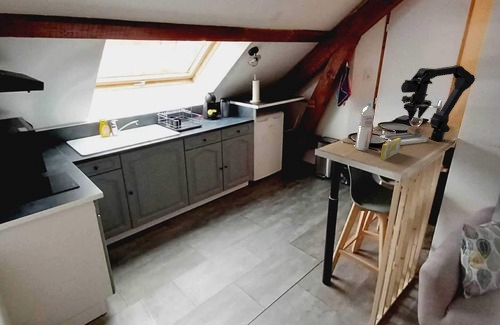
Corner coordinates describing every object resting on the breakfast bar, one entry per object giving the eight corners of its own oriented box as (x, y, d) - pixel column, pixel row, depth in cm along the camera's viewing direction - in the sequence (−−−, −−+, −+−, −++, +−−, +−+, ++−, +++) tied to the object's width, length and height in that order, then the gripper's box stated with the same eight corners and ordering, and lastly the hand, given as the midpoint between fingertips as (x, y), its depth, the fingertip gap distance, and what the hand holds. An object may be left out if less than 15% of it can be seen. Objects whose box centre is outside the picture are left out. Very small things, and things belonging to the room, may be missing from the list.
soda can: (371, 145, 165) (375, 124, 160) (358, 144, 166) (362, 124, 161) (369, 141, 171) (373, 121, 166) (356, 140, 172) (360, 120, 168)
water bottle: (367, 147, 161) (376, 102, 151) (368, 152, 155) (377, 105, 145) (354, 146, 163) (362, 101, 153) (354, 150, 157) (362, 104, 147)
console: (410, 135, 182) (411, 130, 180) (426, 141, 172) (428, 136, 170) (378, 139, 175) (380, 133, 174) (393, 145, 165) (394, 139, 163)
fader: (411, 134, 177) (414, 125, 175) (418, 136, 173) (420, 128, 171) (406, 134, 176) (408, 126, 174) (413, 137, 172) (415, 128, 169)
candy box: (394, 152, 156) (398, 137, 153) (398, 153, 155) (402, 138, 151) (379, 159, 147) (382, 143, 143) (383, 160, 145) (386, 145, 142)
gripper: (415, 88, 172) (409, 114, 179) (397, 91, 163) (392, 119, 169) (434, 90, 164) (428, 117, 170) (417, 95, 155) (410, 123, 161)
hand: (414, 119), depth 168 cm, fingers open, 9 cm apart
